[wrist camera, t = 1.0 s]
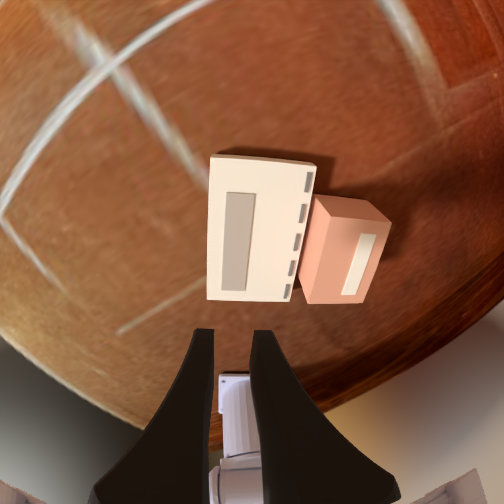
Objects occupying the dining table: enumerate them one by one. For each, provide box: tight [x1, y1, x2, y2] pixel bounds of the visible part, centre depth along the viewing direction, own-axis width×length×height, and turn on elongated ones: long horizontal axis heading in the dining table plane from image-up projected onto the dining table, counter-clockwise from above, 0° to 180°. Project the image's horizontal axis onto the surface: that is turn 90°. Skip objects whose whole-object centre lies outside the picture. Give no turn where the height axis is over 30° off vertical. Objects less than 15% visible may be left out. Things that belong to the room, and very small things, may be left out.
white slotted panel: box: [207, 154, 317, 302], centre depth 18 cm, size 10×6×1 cm, turn 175°
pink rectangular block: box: [297, 194, 392, 304], centre depth 17 cm, size 6×4×4 cm, turn 175°
